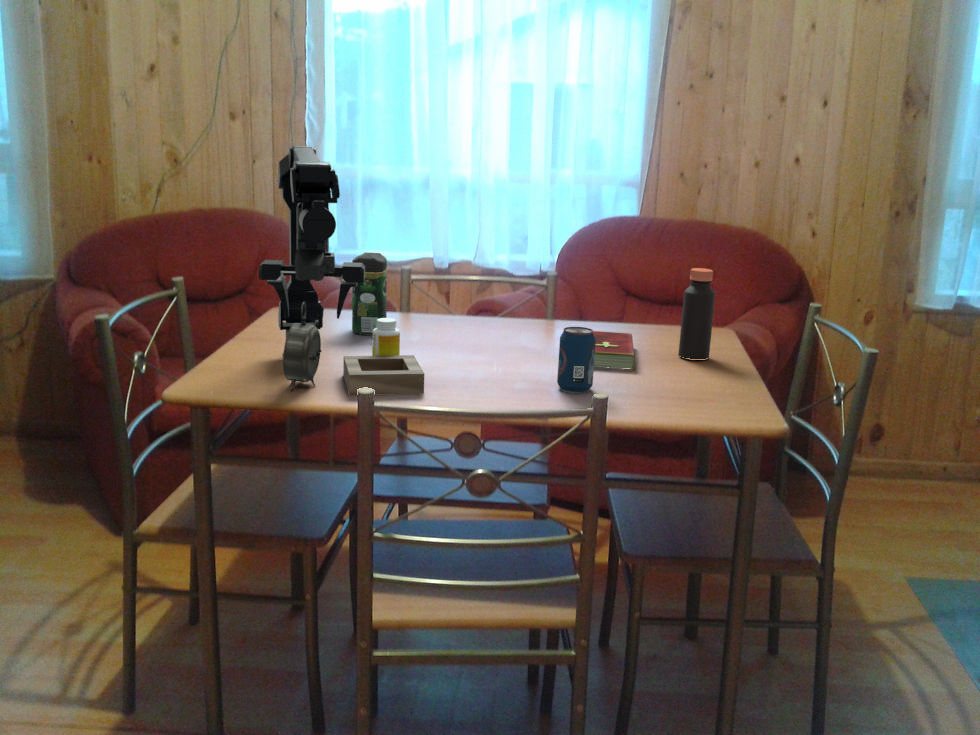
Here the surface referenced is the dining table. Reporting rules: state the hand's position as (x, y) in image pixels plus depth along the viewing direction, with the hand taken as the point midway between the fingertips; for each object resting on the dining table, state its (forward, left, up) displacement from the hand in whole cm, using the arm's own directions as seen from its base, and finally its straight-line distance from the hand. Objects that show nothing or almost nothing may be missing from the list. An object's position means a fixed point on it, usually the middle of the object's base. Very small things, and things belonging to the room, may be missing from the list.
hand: (312, 317), depth 186 cm
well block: (-3, +14, -14) cm, 20 cm away
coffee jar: (-50, +16, -14) cm, 54 cm away
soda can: (+2, +51, -14) cm, 53 cm away
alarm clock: (-4, -1, -14) cm, 15 cm away
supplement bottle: (-15, +16, -14) cm, 26 cm away
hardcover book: (-23, +65, -15) cm, 71 cm away
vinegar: (-20, +86, -14) cm, 89 cm away
